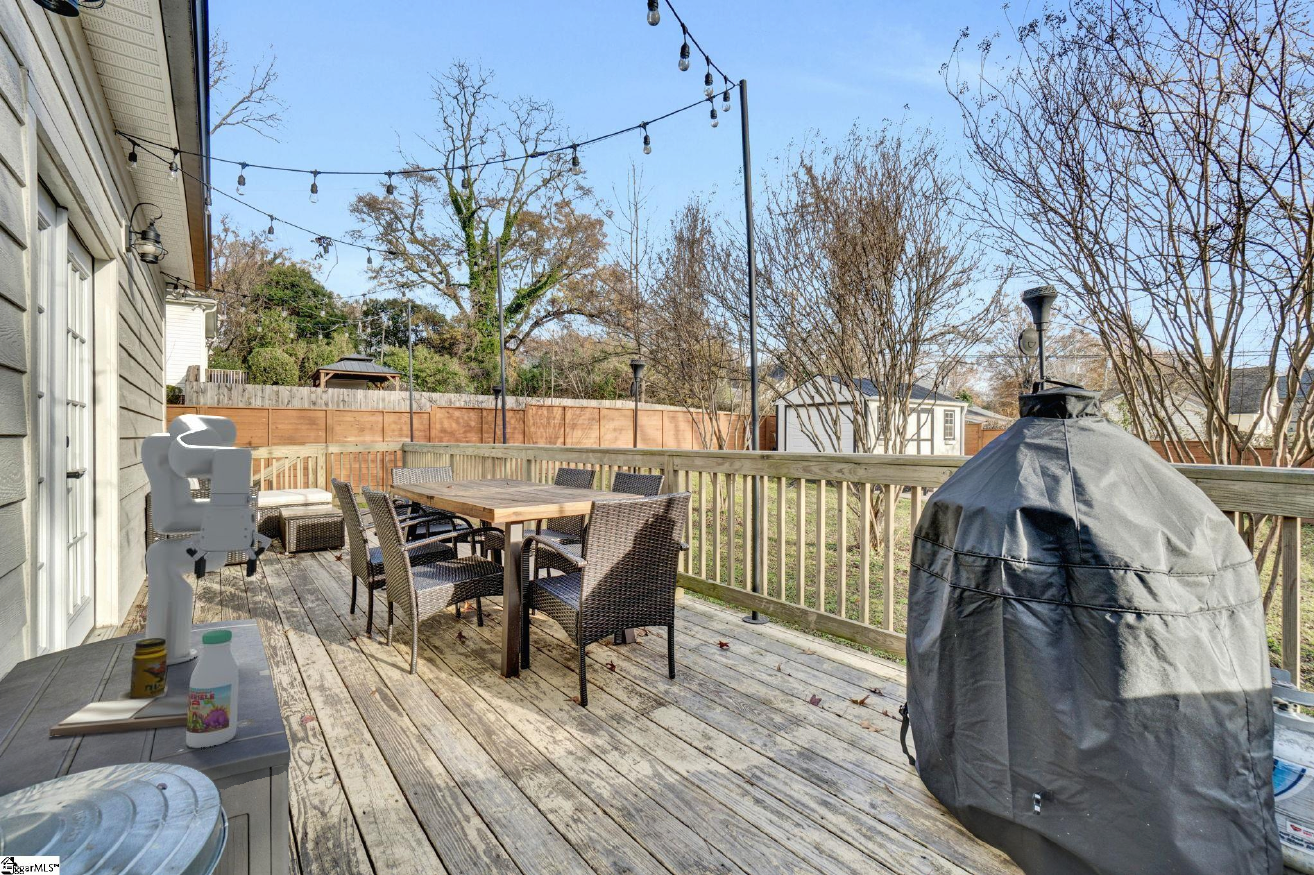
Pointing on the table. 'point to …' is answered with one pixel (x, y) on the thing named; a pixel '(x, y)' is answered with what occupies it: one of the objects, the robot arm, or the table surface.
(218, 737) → the milk bottle
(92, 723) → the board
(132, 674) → the condiment
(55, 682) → the table surface
